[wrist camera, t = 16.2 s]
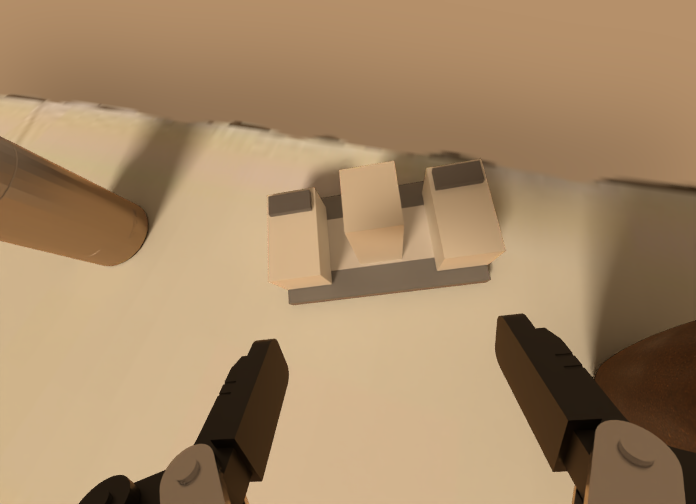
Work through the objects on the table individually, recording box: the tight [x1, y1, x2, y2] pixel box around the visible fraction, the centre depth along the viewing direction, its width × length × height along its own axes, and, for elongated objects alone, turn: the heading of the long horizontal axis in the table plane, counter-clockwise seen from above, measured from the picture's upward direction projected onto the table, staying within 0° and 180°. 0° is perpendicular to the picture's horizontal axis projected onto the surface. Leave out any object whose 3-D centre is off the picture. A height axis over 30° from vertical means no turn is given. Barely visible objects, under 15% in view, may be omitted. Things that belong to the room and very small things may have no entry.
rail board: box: [267, 159, 506, 305], centre depth 29 cm, size 21×12×7 cm, turn 96°
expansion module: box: [339, 161, 404, 264], centre depth 27 cm, size 4×6×10 cm
